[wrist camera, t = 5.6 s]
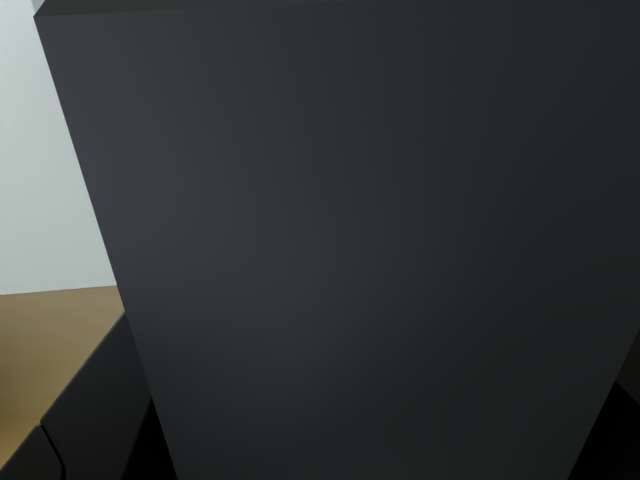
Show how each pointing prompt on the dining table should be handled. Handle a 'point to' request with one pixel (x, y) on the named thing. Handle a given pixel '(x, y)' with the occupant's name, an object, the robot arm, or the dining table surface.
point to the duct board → (40, 173)
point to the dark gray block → (364, 224)
